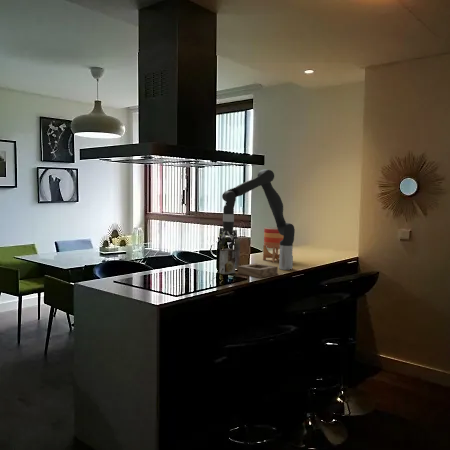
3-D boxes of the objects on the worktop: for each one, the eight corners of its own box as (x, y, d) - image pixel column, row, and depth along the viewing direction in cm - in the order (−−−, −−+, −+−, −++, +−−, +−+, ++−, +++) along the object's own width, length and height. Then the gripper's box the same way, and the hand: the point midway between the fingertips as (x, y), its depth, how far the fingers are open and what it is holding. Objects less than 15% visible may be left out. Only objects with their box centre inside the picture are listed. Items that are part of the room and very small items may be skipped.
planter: (285, 263, 348) (286, 229, 346) (260, 261, 353) (261, 228, 352) (289, 259, 367) (290, 227, 365) (265, 258, 373) (266, 226, 371)
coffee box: (229, 271, 305) (230, 248, 304) (235, 273, 300) (235, 249, 299) (218, 272, 300) (219, 249, 299) (224, 274, 295) (224, 250, 294)
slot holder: (255, 270, 312) (255, 263, 312) (277, 274, 299) (277, 266, 299) (237, 273, 298) (237, 266, 298) (260, 277, 285) (260, 269, 285)
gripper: (240, 221, 296) (239, 245, 297) (224, 220, 305) (223, 243, 306) (232, 221, 290) (231, 246, 291) (216, 220, 300) (216, 244, 301)
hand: (227, 244), depth 299 cm, fingers open, 8 cm apart
